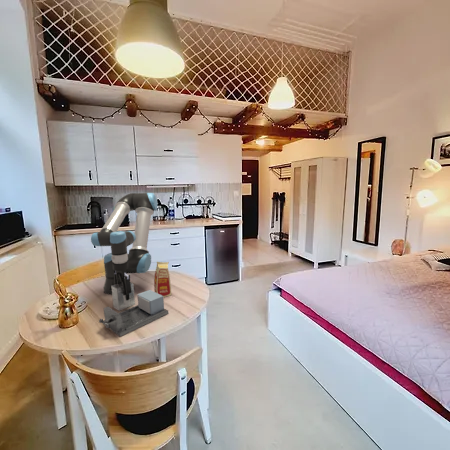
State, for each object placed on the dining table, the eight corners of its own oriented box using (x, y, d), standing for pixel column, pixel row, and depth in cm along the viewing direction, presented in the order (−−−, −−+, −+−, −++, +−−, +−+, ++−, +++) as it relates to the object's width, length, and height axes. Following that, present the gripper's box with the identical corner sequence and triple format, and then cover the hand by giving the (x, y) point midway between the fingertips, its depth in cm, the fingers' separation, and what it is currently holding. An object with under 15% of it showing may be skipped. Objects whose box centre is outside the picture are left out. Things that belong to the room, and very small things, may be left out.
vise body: (95, 327, 116) (93, 309, 115) (150, 303, 138) (149, 289, 136) (111, 340, 106) (109, 322, 104) (168, 313, 127) (167, 297, 126)
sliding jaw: (137, 307, 130) (136, 294, 128) (150, 302, 135) (149, 289, 134) (151, 315, 122) (150, 301, 121) (164, 309, 127) (163, 296, 126)
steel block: (113, 307, 135) (111, 285, 133) (129, 301, 141) (127, 280, 139) (119, 310, 131) (116, 288, 129) (135, 304, 137) (133, 283, 135)
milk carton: (157, 298, 144) (155, 264, 140) (153, 292, 152) (151, 260, 148) (173, 295, 148) (171, 261, 144) (169, 289, 156) (167, 257, 152)
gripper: (104, 259, 135) (109, 300, 139) (122, 267, 123) (126, 311, 127) (118, 256, 141) (122, 296, 145) (136, 263, 128) (140, 306, 132)
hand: (124, 303), depth 136 cm, fingers closed on steel block, 6 cm apart
